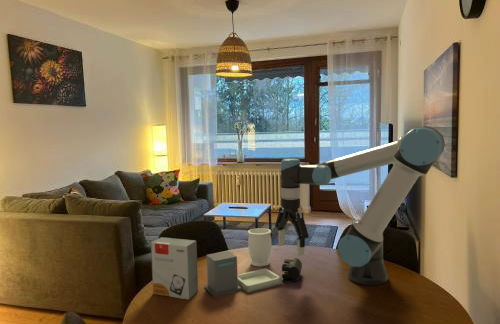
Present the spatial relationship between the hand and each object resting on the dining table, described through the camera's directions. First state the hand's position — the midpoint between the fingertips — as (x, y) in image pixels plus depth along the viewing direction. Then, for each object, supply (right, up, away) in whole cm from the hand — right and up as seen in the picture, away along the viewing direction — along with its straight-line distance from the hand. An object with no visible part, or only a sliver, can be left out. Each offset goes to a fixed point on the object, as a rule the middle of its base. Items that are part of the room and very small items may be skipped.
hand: (291, 250), depth 151 cm
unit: (-27, -13, -8) cm, 31 cm away
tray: (-14, -12, -3) cm, 19 cm away
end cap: (+1, -12, +1) cm, 12 cm away
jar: (-12, -11, +18) cm, 24 cm away
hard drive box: (-44, -14, -10) cm, 48 cm away
